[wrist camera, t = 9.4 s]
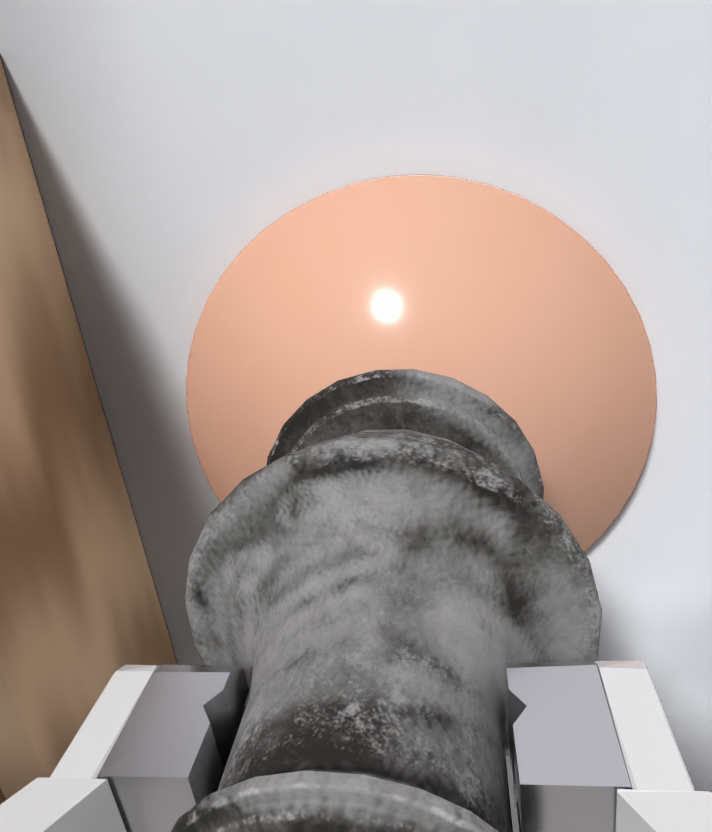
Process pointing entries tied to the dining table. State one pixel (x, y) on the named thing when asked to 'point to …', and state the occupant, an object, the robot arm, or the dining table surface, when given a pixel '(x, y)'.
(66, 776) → the robot arm
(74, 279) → the dining table surface
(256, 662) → the dark grey turned piece
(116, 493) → the cold frame
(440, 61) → the dining table surface
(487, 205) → the glossy peach disc
